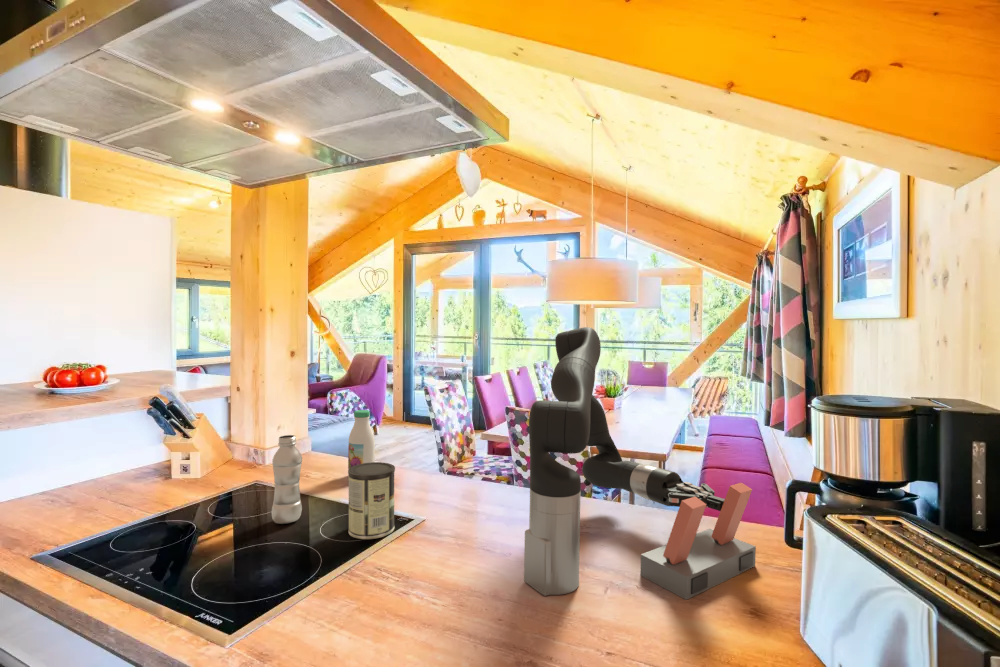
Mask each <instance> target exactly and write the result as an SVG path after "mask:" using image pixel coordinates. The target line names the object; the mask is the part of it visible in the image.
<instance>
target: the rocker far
mask: <svg viewBox="0 0 1000 667" xmlns="http://www.w3.org/2000/svg"><path fill="white" fill-rule="evenodd" d="M752 491H753V489H752V488H751V487H749V486H748V485H746V484H744V483H743V482H739V483H736V484H731V485H729V488H728V490H727V493H726V496H725V498H724V499H725V500H724V503H723V506H722V509H721V511H719V514H718V517H717V519H716V523H715V525H714V528H713V529H712V530H713V533H712V536H711V537H712V538H713V539H714V542H715V543H720V544H721V545H723V544H725V543H728V542H730V541H732V540H733V539H734V538H735V536H736V533H737V531H738V528H739V526H740V523H741V520H742V517H743V515H744V512H745V510H746V507H747V504H748V502H749V500H750V497H751V493H752Z"/></svg>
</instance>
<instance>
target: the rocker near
mask: <svg viewBox="0 0 1000 667" xmlns="http://www.w3.org/2000/svg"><path fill="white" fill-rule="evenodd" d="M706 505H707V504H705V503H704V502H703V501H701V500H700V499H698V498H697V497H692V498H689V499H685V500H682V501H681V504H680V507H678V510H677V514H676V516H675V520H674V522H673V526H672V528H671V531H670V534H669V536H668V540H667V543H666V545H667V546H666V548H665V551H664V554H663V556H664V557H665V558H666V561H667V562H668V563H670V562H671V563H672V564H673V565H674V564H677V563H679V562H682V561H684V560H686V559H687V558H688V555H689V552H690V550H691V547H692V544H693V541H694V538H695V536H696V534H697V532H698V530H699V526H700V524H701V521H702V518H703V516H704V513H705V511H706V510H705V509H706V508H705V507H706Z"/></svg>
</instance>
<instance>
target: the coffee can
mask: <svg viewBox="0 0 1000 667" xmlns="http://www.w3.org/2000/svg"><path fill="white" fill-rule="evenodd" d="M347 469H348V468H347ZM395 471H396V467H395V465H393V464H391V463H388V462H383V461H382V462H381V461H380V462H379V461H377V462H371V463H363V464H358V465H355V466H353V467H351V468H349V469H348V470H347V475H348V474H349V476H348V531H347V532H348V534H349V536H350V537H352V538H354V539H359V540H374V539H379V538H383V537H386V536H389V535H390V534H392V533H393V532H394V531H395V528H396V527H395Z"/></svg>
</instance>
